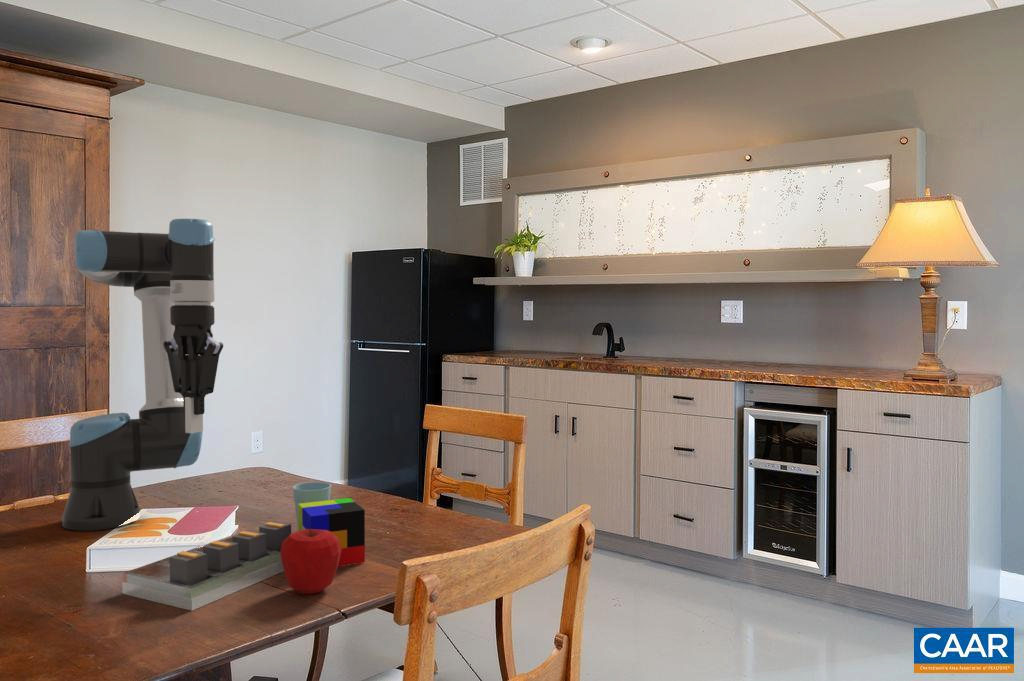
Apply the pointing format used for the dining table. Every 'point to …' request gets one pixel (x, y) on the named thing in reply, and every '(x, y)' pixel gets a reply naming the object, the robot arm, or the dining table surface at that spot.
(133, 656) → the dining table surface
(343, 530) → the puzzle toy
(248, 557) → the block
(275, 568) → the panel
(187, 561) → the block
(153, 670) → the dining table surface
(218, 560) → the block
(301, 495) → the cup
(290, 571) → the apple
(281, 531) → the block
